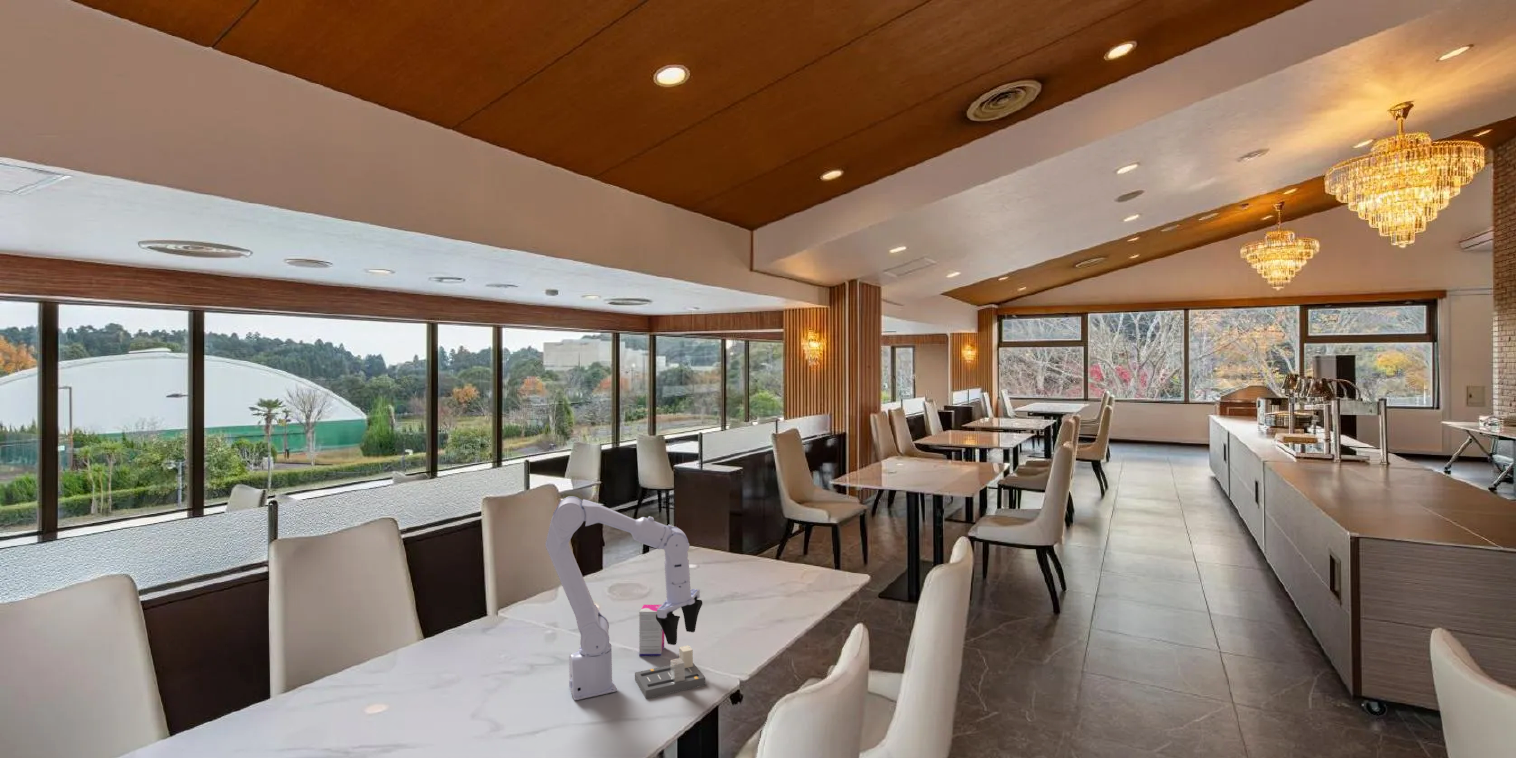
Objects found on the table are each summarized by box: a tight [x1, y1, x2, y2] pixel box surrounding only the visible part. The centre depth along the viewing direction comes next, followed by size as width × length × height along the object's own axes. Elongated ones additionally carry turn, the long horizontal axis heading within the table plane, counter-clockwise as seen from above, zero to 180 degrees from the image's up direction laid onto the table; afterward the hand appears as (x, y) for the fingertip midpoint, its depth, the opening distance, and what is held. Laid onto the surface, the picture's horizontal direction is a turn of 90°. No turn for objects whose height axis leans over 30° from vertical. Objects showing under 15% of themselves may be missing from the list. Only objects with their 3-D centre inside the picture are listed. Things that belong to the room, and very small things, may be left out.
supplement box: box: [638, 604, 665, 657], centre depth 169 cm, size 6×6×12 cm
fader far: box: [678, 645, 694, 668], centre depth 157 cm, size 2×3×5 cm
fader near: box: [669, 657, 685, 683], centre depth 149 cm, size 2×3×5 cm
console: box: [634, 662, 707, 700], centre depth 152 cm, size 14×10×2 cm
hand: (681, 637), depth 154 cm, fingers open, 7 cm apart
